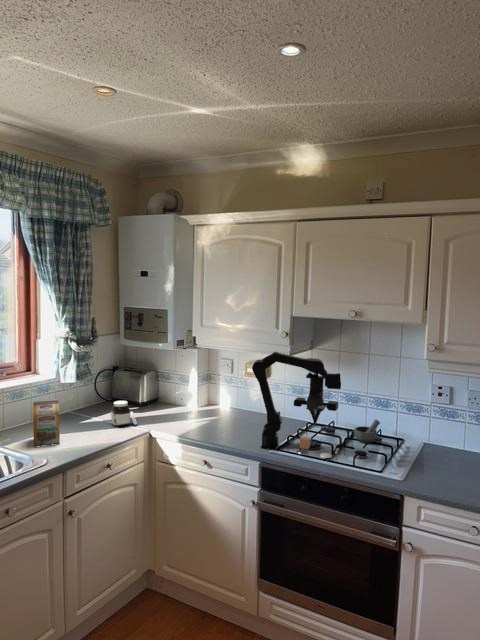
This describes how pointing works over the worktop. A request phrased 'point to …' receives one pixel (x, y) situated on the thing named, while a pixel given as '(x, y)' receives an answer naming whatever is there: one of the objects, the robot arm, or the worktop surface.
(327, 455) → the ceramic puck
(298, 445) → the selector rail
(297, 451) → the steel puck
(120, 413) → the spread jar
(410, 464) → the worktop surface
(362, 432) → the mortar and pestle
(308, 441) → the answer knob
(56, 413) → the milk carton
